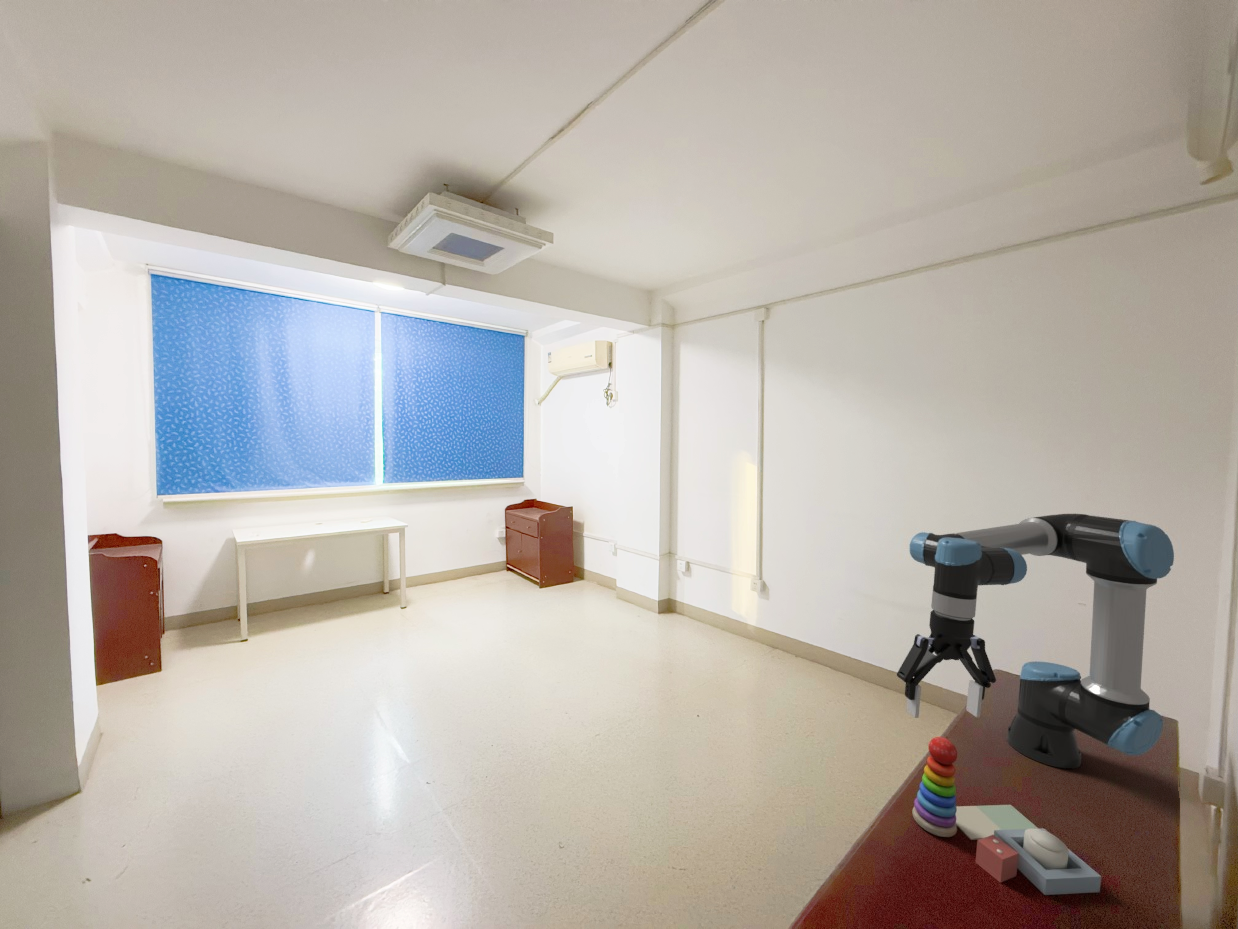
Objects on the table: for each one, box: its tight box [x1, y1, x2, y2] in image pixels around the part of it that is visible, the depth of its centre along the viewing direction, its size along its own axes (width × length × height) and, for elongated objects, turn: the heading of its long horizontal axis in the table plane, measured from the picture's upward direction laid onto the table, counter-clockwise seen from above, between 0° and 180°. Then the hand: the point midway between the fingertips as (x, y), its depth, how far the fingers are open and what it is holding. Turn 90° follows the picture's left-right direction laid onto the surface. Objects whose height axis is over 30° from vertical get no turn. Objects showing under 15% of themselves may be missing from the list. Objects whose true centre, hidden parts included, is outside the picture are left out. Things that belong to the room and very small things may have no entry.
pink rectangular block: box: [974, 835, 1019, 883], centre depth 94 cm, size 4×4×5 cm
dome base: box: [994, 827, 1102, 896], centre depth 95 cm, size 11×11×3 cm
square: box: [956, 805, 1001, 841], centre depth 105 cm, size 8×8×1 cm
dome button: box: [1023, 828, 1069, 870], centre depth 95 cm, size 6×6×5 cm
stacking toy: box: [911, 736, 958, 838], centre depth 104 cm, size 8×8×19 cm
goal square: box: [975, 804, 1039, 830], centre depth 106 cm, size 8×8×1 cm
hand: (942, 714), depth 103 cm, fingers open, 13 cm apart
